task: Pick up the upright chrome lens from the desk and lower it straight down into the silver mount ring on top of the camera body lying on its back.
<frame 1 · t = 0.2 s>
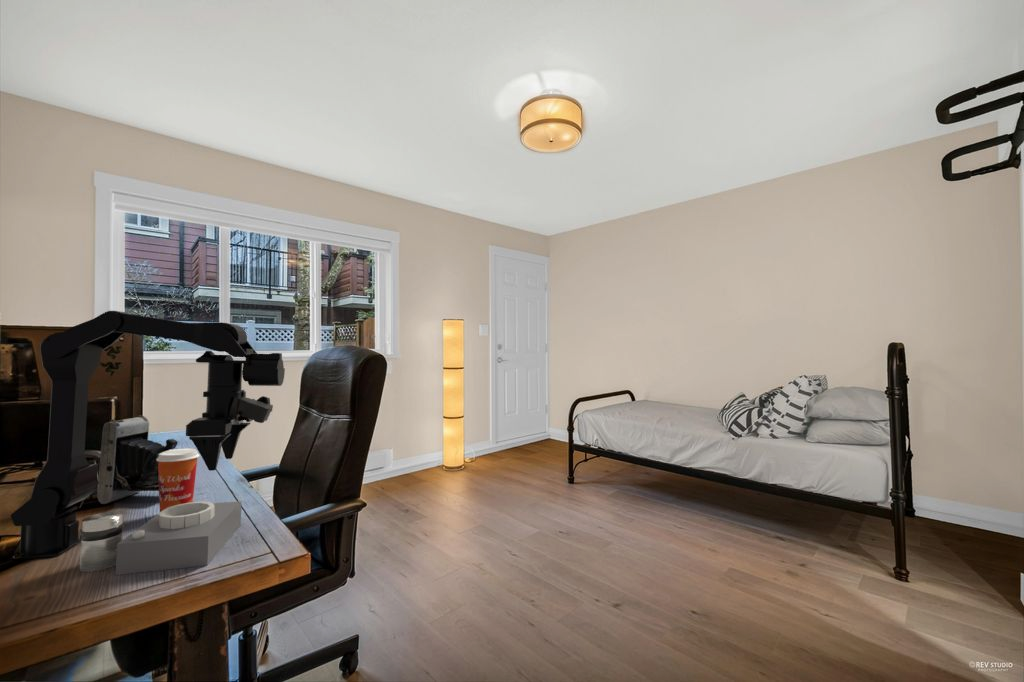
hand: (221, 464, 87), 14 cm above the table, fingers open, 9 cm apart
paper cup: (176, 515, 97), on the table
vintage camera: (145, 499, 107), on the table
camera body: (186, 546, 82), on the table
lens: (101, 564, 75), on the table
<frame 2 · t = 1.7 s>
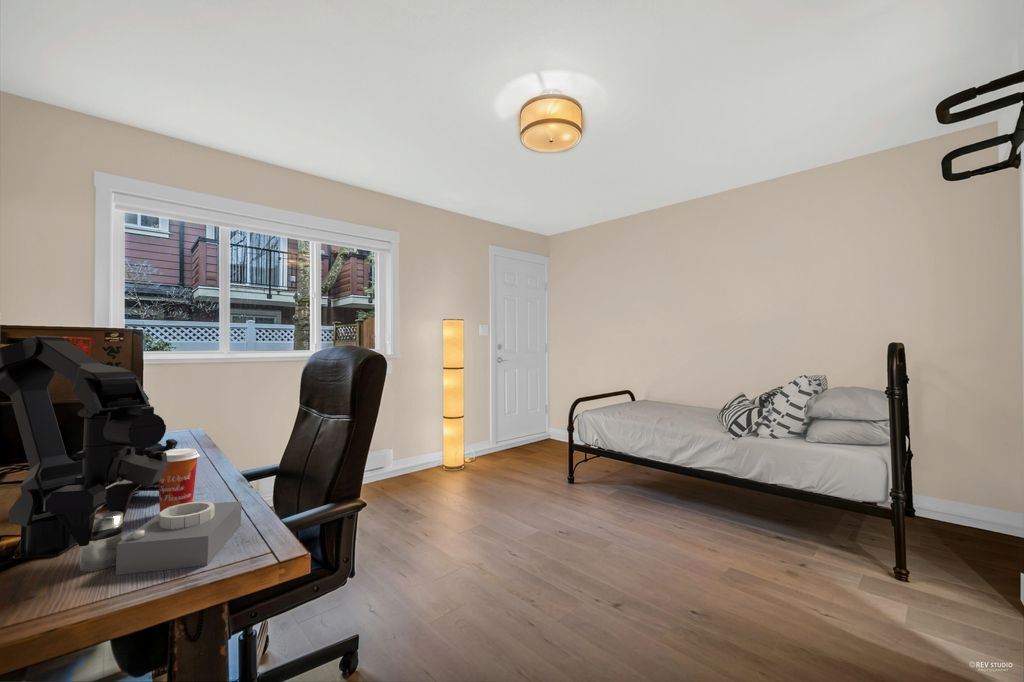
hand: (101, 534, 75), 5 cm above the table, fingers open, 9 cm apart
nothing on the table moved.
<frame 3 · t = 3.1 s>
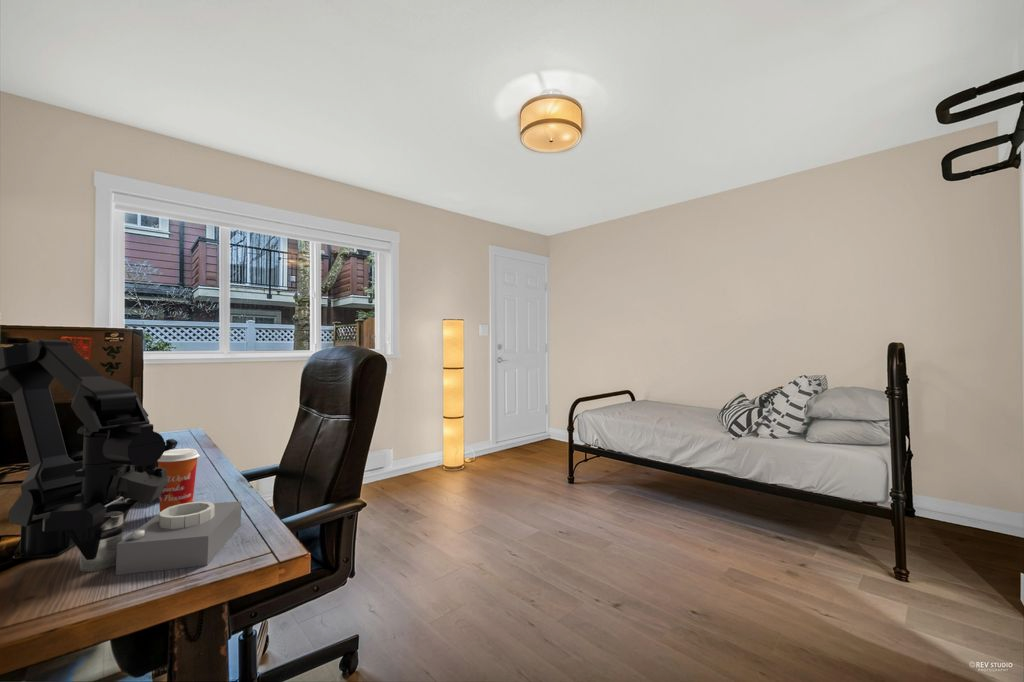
hand: (101, 551, 75), 2 cm above the table, fingers closed on lens, 5 cm apart
lens: (101, 563, 75), on the table, touching gripper
everything else where it was.
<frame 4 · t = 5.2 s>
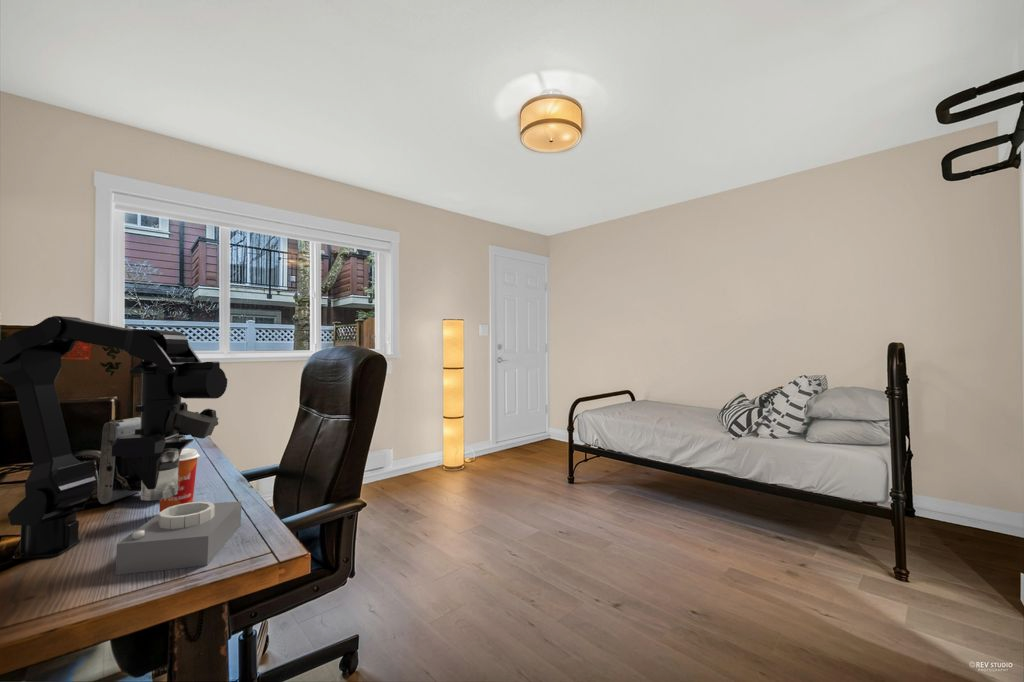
hand: (159, 484, 79), 12 cm above the table, fingers closed on lens, 5 cm apart
lens: (159, 495, 79), point 10 cm above the table, touching gripper
everything else where it was.
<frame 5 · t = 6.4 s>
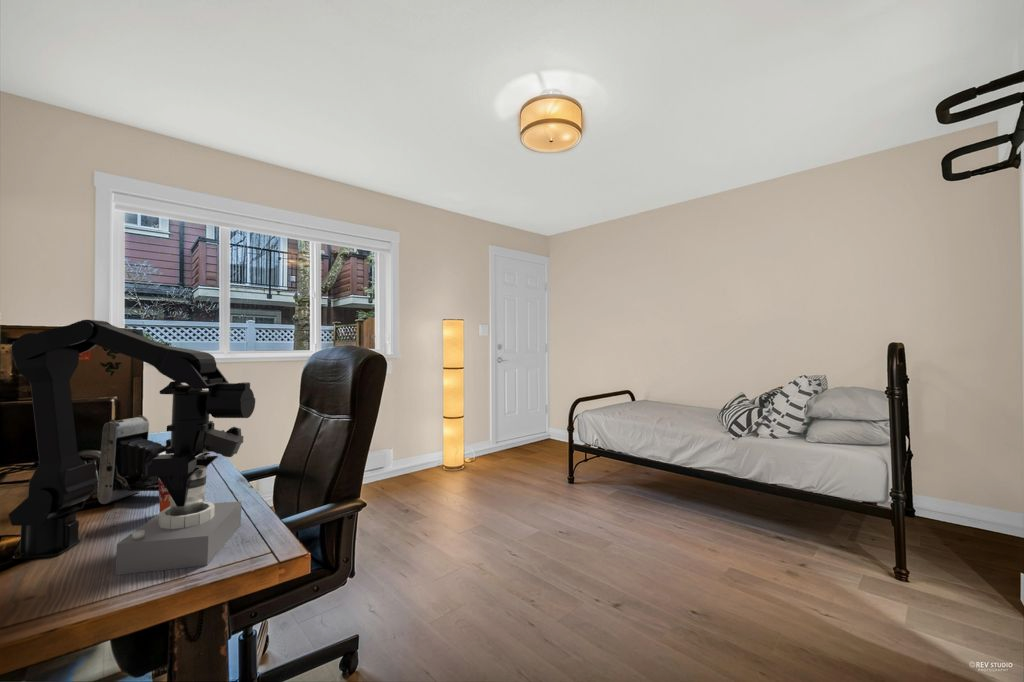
hand: (187, 501, 82), 8 cm above the table, fingers closed on lens, 5 cm apart
lens: (187, 511, 82), point 6 cm above the table, touching gripper
everything else where it was.
when the fingers open (8 cm above the table, at t = 7.4 s): lens drops 1 cm, resting on camera body.
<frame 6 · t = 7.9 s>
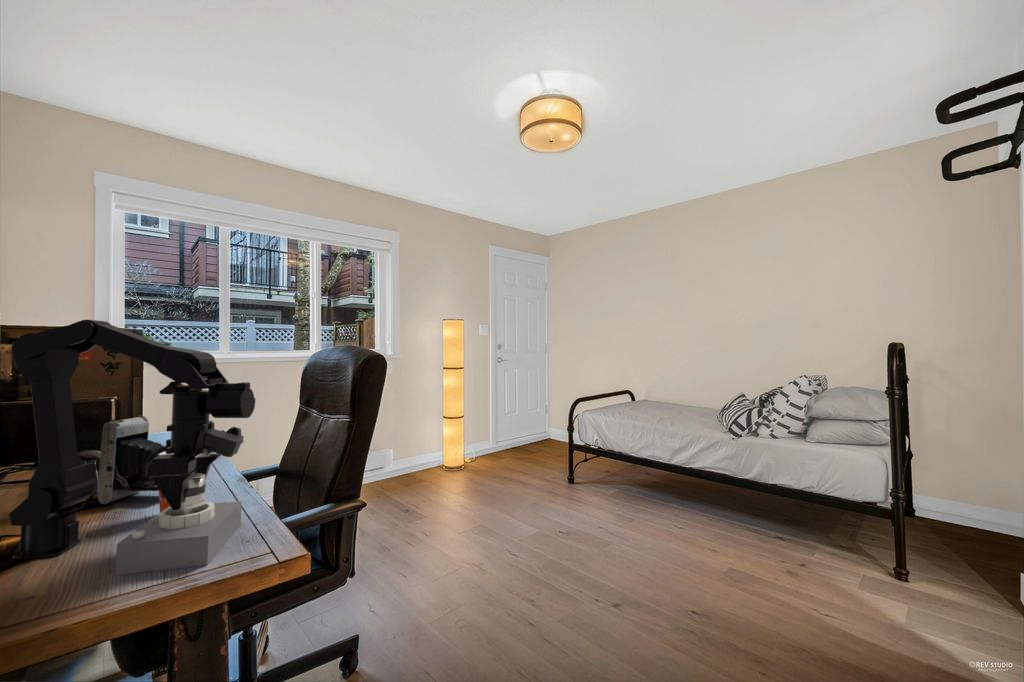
hand: (187, 501, 82), 8 cm above the table, fingers open, 9 cm apart
lens: (187, 519, 82), point 5 cm above the table, touching camera body
everything else where it was.
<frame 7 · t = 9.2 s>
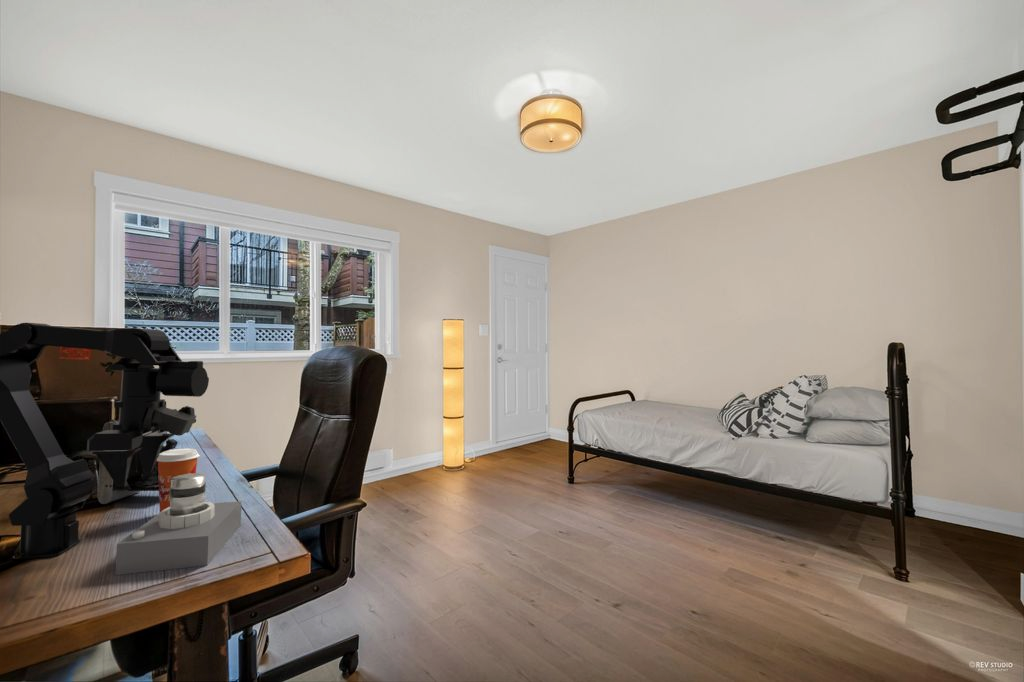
hand: (135, 479, 81), 13 cm above the table, fingers open, 9 cm apart
nothing on the table moved.
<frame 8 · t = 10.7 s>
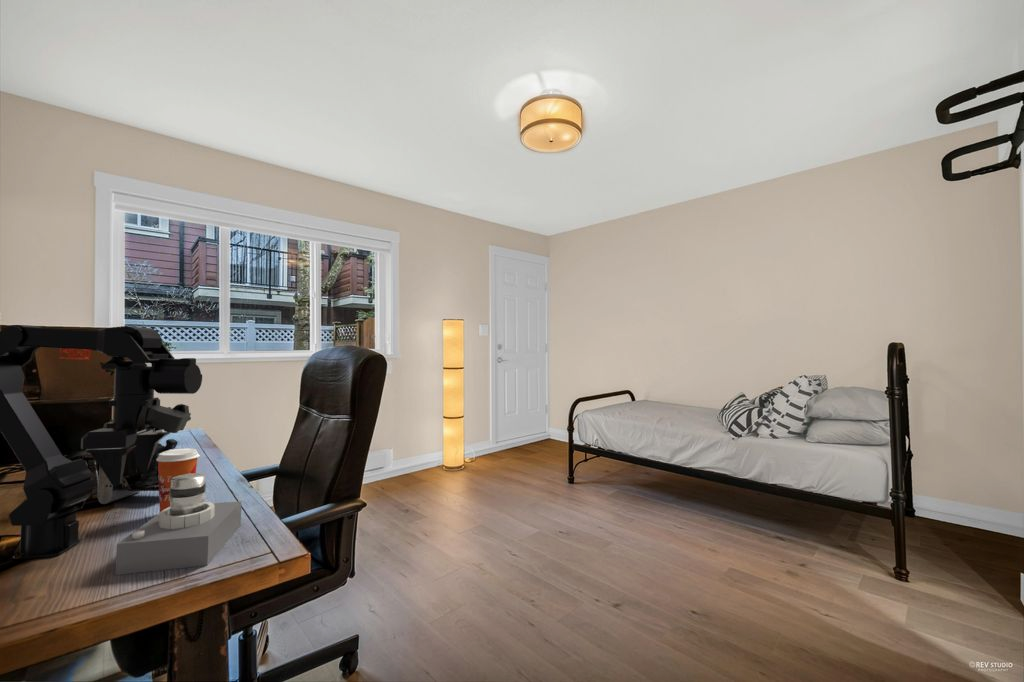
hand: (131, 477, 81), 13 cm above the table, fingers open, 9 cm apart
nothing on the table moved.
at the end: lens 0.0 cm off-centre on the camera body, point 5.0 cm above the camera body's base; lens tilted 0°; the gripper is holding nothing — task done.
